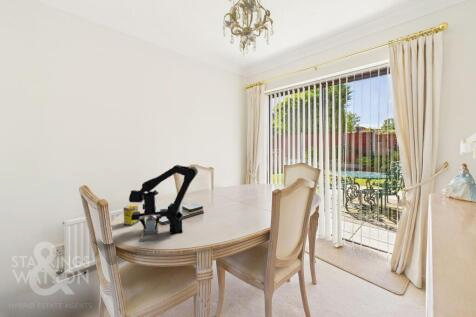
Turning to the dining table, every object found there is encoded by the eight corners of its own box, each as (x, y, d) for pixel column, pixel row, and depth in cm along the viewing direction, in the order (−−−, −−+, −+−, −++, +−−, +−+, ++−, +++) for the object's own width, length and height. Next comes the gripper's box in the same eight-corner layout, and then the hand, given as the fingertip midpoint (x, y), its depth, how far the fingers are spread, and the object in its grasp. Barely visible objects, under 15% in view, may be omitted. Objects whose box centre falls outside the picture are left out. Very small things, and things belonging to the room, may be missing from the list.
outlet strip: (158, 227, 125) (158, 225, 125) (157, 239, 111) (157, 236, 111) (142, 229, 123) (142, 227, 122) (139, 241, 108) (139, 239, 108)
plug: (155, 229, 123) (154, 216, 122) (154, 232, 119) (154, 219, 118) (146, 230, 122) (146, 217, 121) (146, 233, 117) (145, 220, 117)
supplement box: (131, 226, 127) (131, 208, 126) (123, 224, 129) (123, 207, 128) (139, 222, 133) (138, 205, 132) (131, 221, 134) (130, 204, 133)
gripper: (166, 196, 129) (167, 221, 131) (133, 199, 123) (134, 225, 125) (167, 202, 119) (167, 228, 120) (130, 205, 113) (131, 233, 114)
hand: (150, 228), depth 120 cm, fingers open, 5 cm apart
